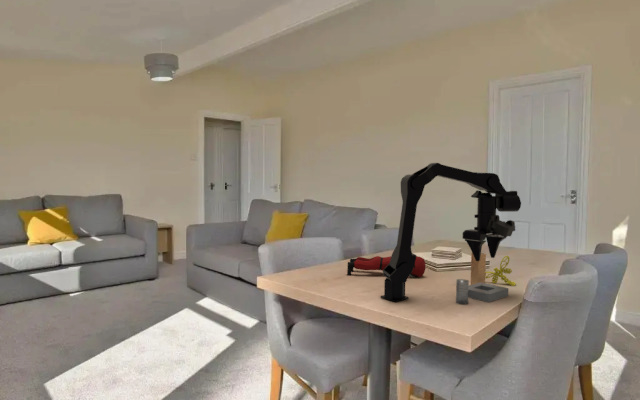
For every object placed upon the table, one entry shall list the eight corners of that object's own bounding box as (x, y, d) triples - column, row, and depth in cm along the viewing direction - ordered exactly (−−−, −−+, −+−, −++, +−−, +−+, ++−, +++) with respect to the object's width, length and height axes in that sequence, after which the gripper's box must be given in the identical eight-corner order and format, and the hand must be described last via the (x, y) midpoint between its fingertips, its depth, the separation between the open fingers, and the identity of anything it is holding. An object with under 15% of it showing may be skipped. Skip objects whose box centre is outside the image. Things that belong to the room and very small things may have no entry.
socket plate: (488, 302, 134) (489, 294, 134) (460, 295, 142) (460, 287, 142) (508, 295, 142) (508, 288, 142) (480, 289, 150) (480, 282, 150)
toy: (343, 282, 160) (426, 287, 154) (343, 260, 160) (426, 263, 154) (353, 266, 188) (424, 270, 181) (353, 247, 187) (424, 250, 181)
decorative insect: (496, 298, 158) (477, 275, 161) (497, 295, 160) (479, 273, 163) (526, 278, 152) (506, 255, 155) (527, 276, 155) (508, 253, 158)
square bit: (477, 288, 151) (478, 254, 150) (470, 286, 154) (471, 252, 153) (484, 287, 152) (485, 253, 152) (477, 285, 155) (478, 252, 155)
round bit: (463, 305, 131) (464, 282, 131) (453, 302, 134) (454, 280, 134) (470, 303, 134) (471, 280, 133) (460, 300, 136) (460, 278, 136)
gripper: (495, 215, 128) (493, 267, 129) (525, 212, 140) (523, 259, 141) (462, 212, 137) (460, 261, 138) (492, 209, 149) (491, 254, 150)
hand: (485, 259), depth 141 cm, fingers open, 9 cm apart
